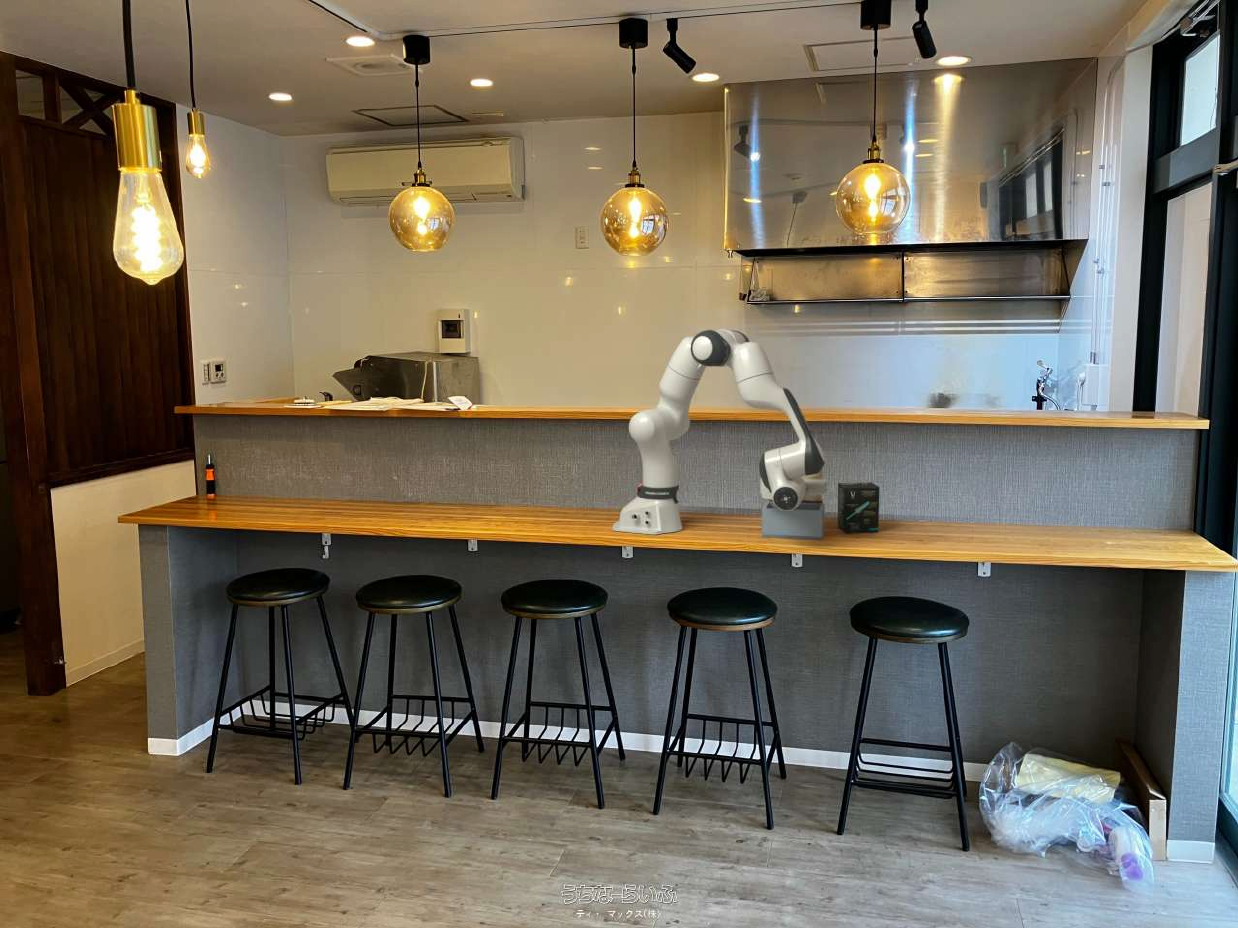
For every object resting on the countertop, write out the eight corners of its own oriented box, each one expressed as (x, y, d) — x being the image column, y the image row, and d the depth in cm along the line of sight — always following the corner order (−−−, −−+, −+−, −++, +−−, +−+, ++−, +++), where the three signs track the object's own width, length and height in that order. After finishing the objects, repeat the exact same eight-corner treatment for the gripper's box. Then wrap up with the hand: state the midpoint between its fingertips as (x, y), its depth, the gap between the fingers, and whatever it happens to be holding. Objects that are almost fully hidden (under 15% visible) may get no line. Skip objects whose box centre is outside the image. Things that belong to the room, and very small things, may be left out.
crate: (761, 537, 292) (762, 508, 291) (766, 529, 304) (766, 501, 302) (821, 540, 287) (822, 510, 286) (824, 531, 299) (824, 503, 298)
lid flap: (769, 501, 303) (769, 449, 300) (769, 501, 303) (770, 448, 301) (822, 503, 298) (823, 450, 296) (822, 503, 299) (823, 449, 297)
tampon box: (870, 526, 306) (871, 481, 304) (879, 532, 297) (880, 486, 294) (836, 527, 305) (837, 482, 303) (844, 533, 296) (845, 487, 294)
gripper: (826, 479, 280) (829, 472, 294) (757, 477, 286) (762, 470, 299) (826, 500, 281) (829, 492, 295) (756, 498, 287) (762, 490, 300)
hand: (795, 481), depth 297 cm, fingers closed
